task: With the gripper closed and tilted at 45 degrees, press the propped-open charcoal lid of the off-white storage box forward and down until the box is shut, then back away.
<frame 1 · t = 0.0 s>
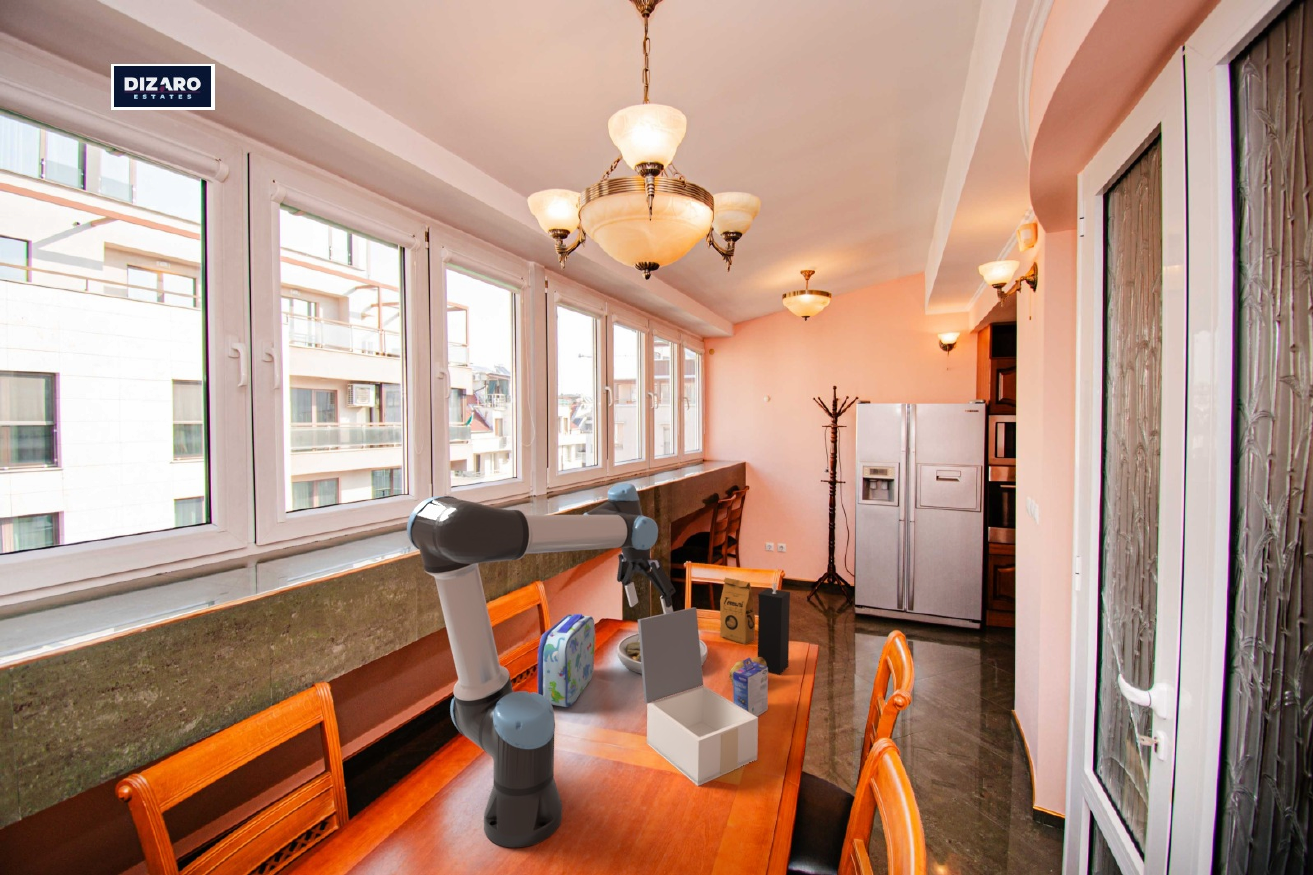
hand: (651, 610, 157), 28 cm above the table, tool tilted 20°, fingers open, 13 cm apart
ink cartridge box: (750, 713, 158), on the table
lunch box: (567, 692, 169), on the table
box lid: (671, 653, 148), point 20 cm above the table, hinge at 100.0°
bowl: (662, 662, 192), on the table
bread roll: (744, 685, 175), on the table
coffee package: (737, 639, 212), on the table
storage box: (700, 751, 139), on the table
black pillar candle: (772, 669, 187), on the table
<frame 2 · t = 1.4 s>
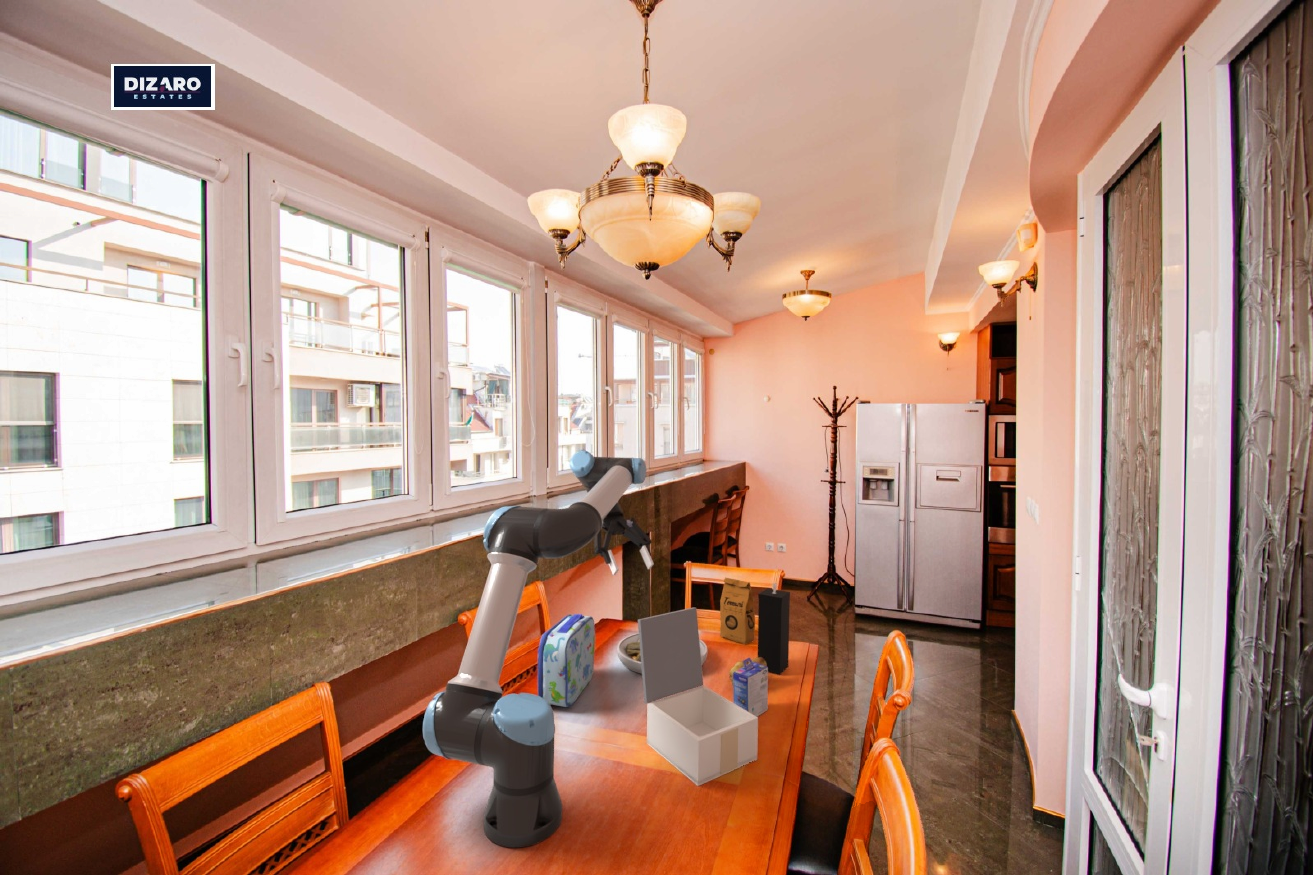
hand: (633, 569, 163), 37 cm above the table, tool tilted 45°, fingers open, 11 cm apart
nothing on the table moved.
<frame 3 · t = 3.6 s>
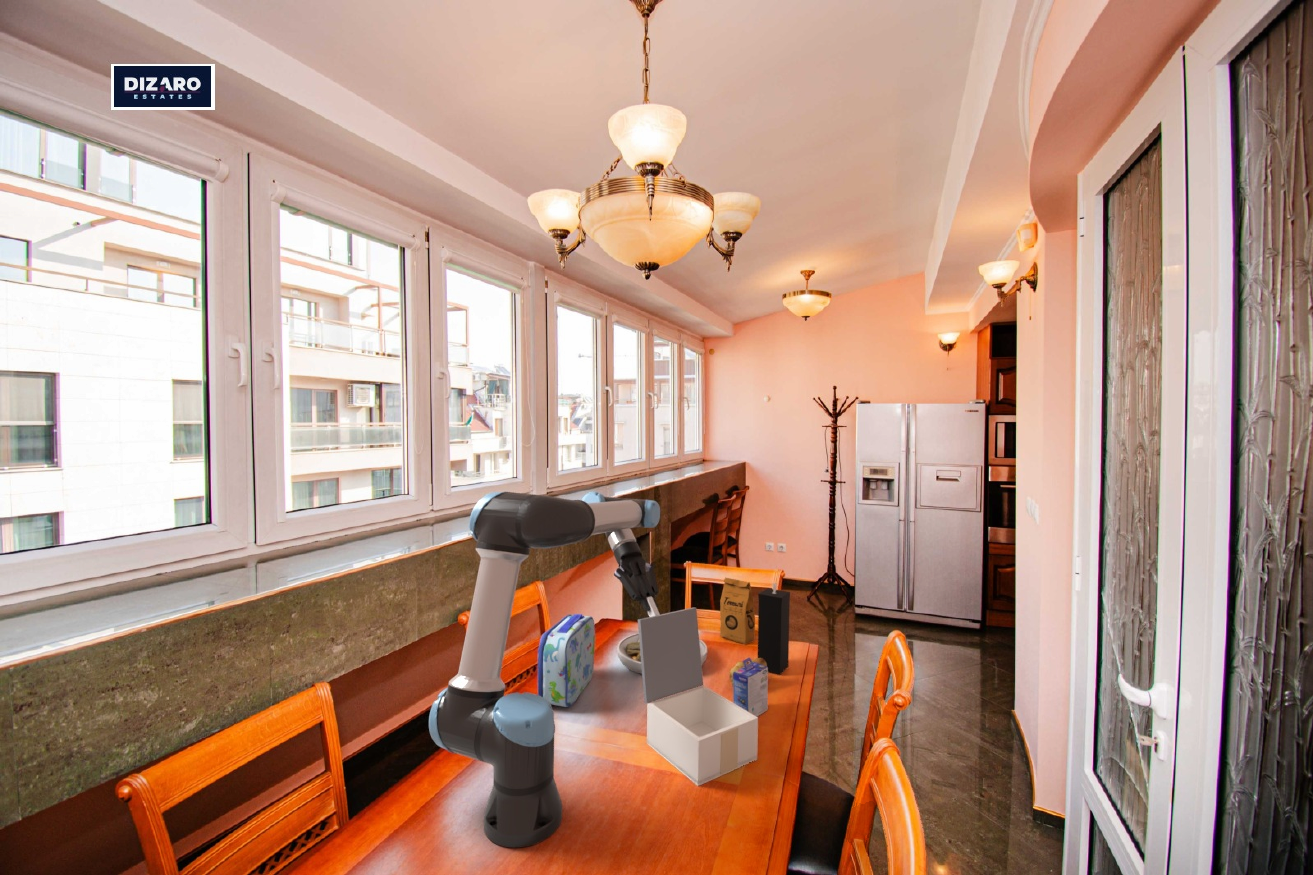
hand: (656, 620, 154), 26 cm above the table, tool tilted 45°, fingers closed
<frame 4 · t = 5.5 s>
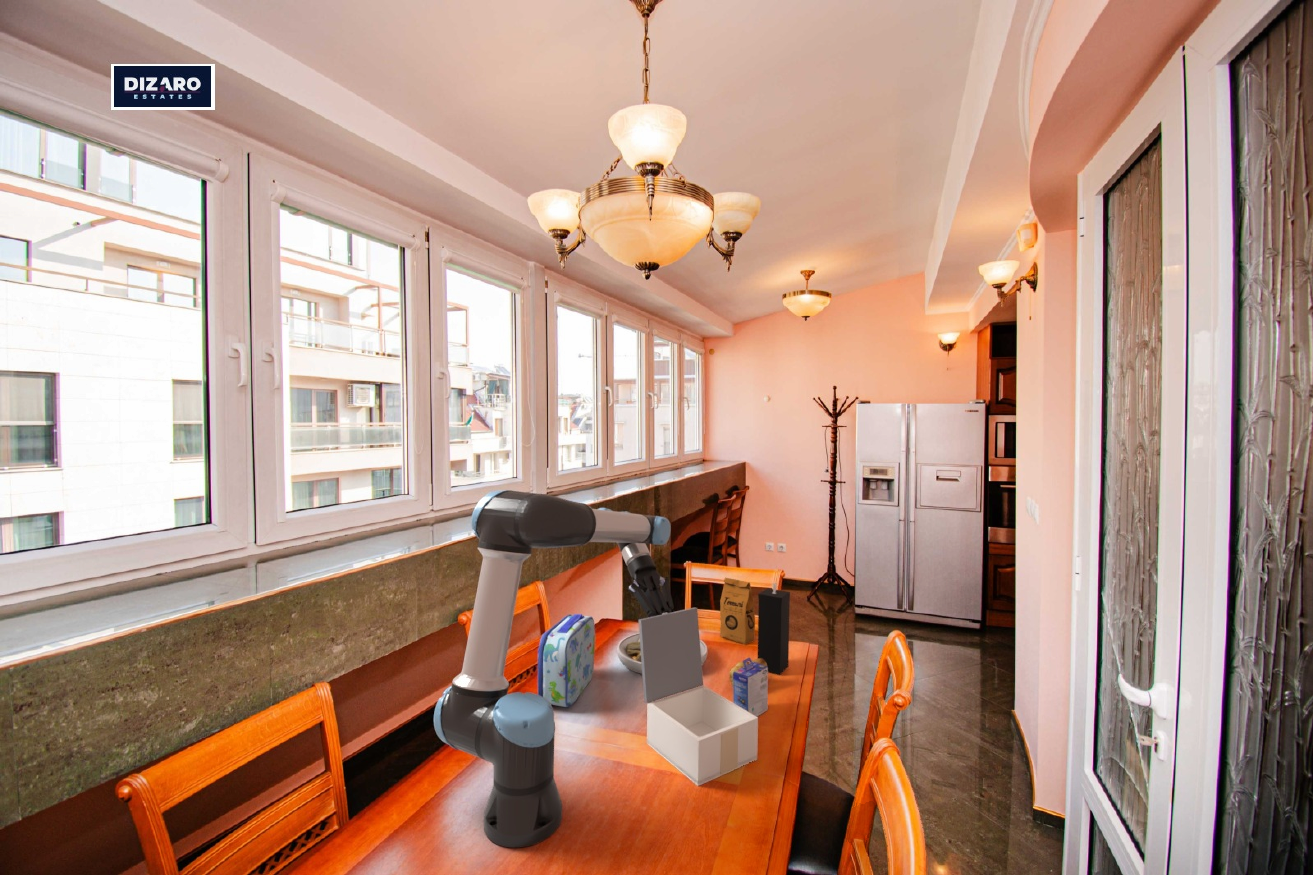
hand: (672, 637, 151), 23 cm above the table, tool tilted 45°, fingers closed
box lid: (671, 653, 148), point 20 cm above the table, hinge at 98.9°, touching gripper
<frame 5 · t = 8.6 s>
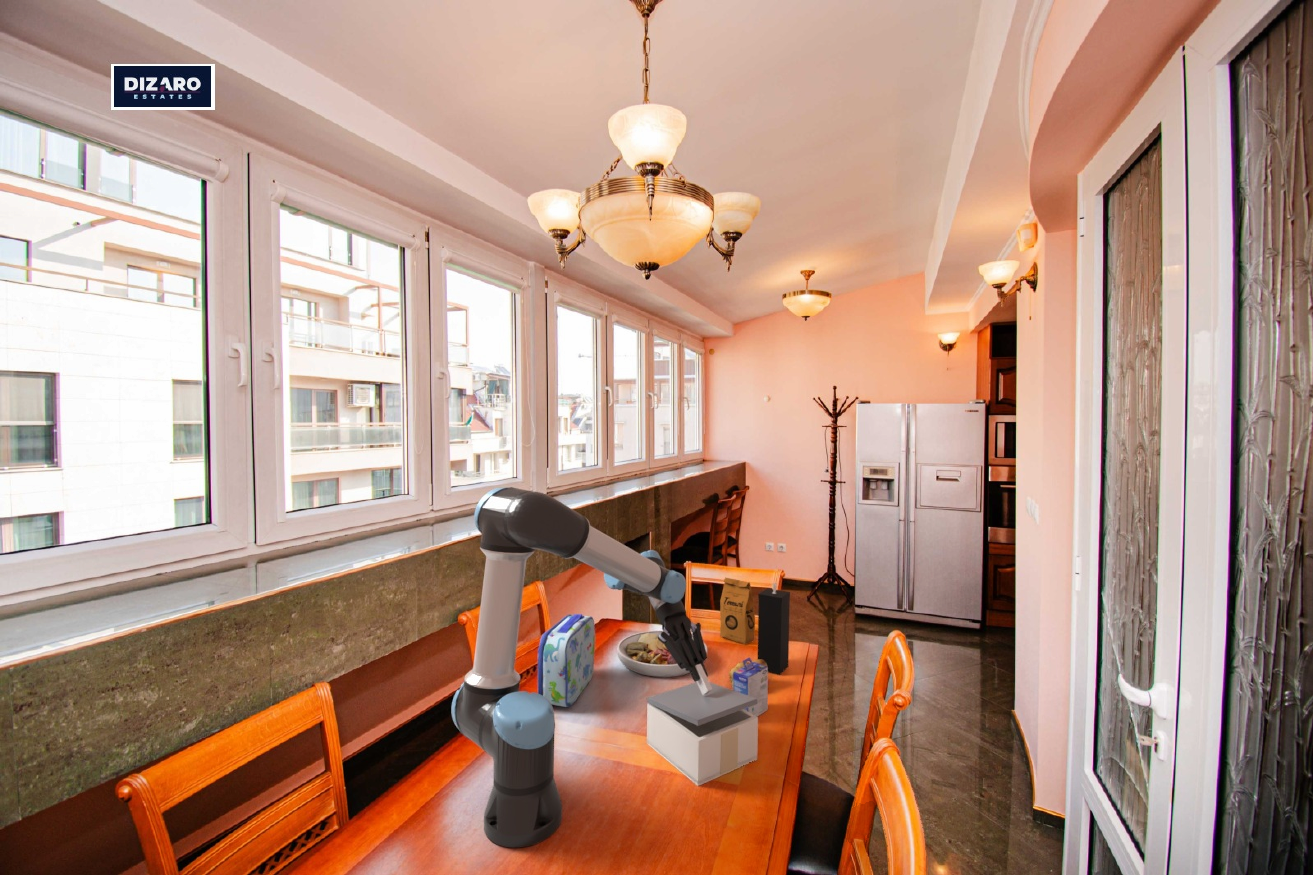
hand: (707, 692, 139), 14 cm above the table, tool tilted 45°, fingers closed
box lid: (700, 700, 139), point 12 cm above the table, hinge at 8.6°
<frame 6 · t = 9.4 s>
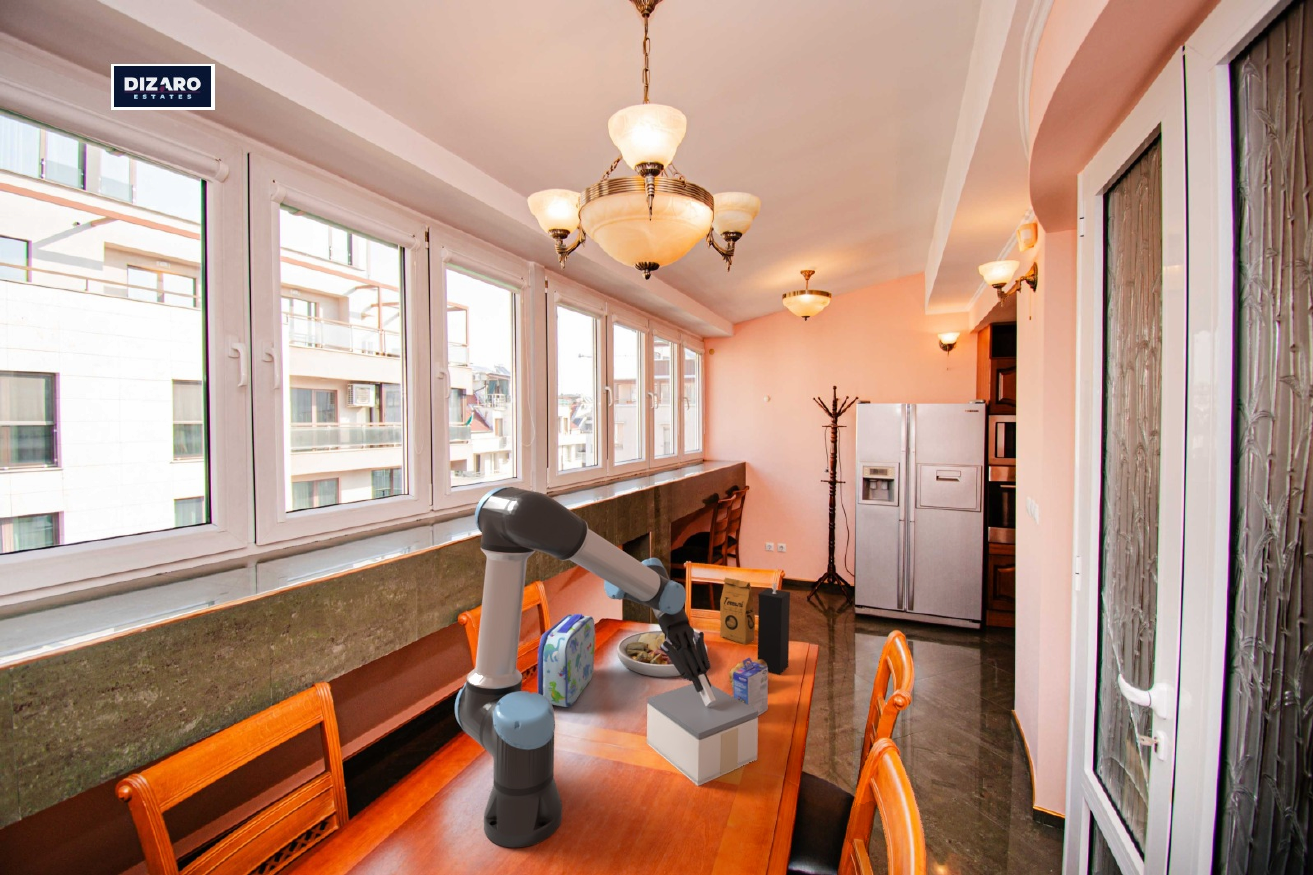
hand: (710, 703, 136), 13 cm above the table, tool tilted 45°, fingers closed
box lid: (701, 706, 138), point 11 cm above the table, hinge at 0.6°, touching gripper
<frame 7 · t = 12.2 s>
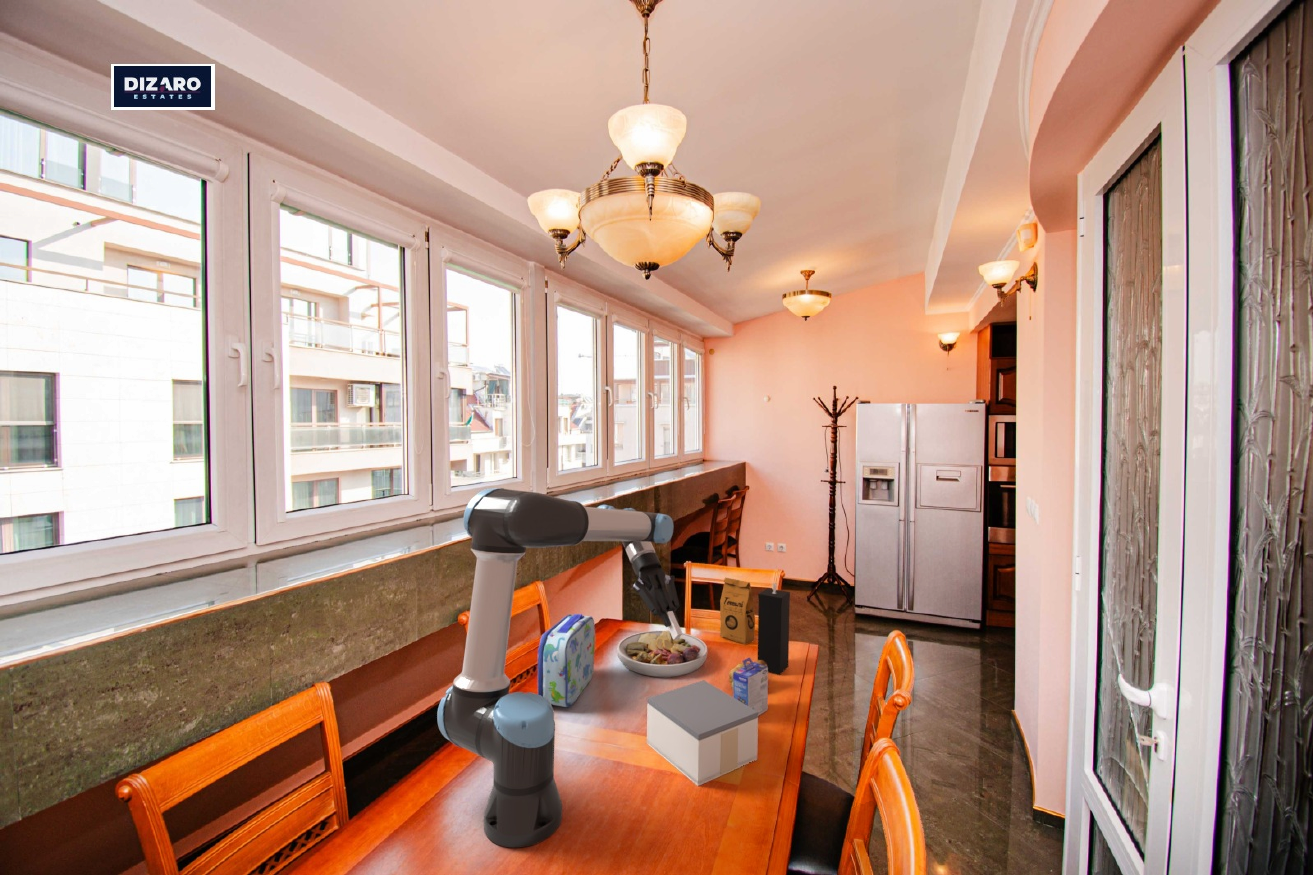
hand: (677, 636, 147), 25 cm above the table, tool tilted 45°, fingers closed
box lid: (701, 707, 138), point 11 cm above the table, hinge at -0.1°
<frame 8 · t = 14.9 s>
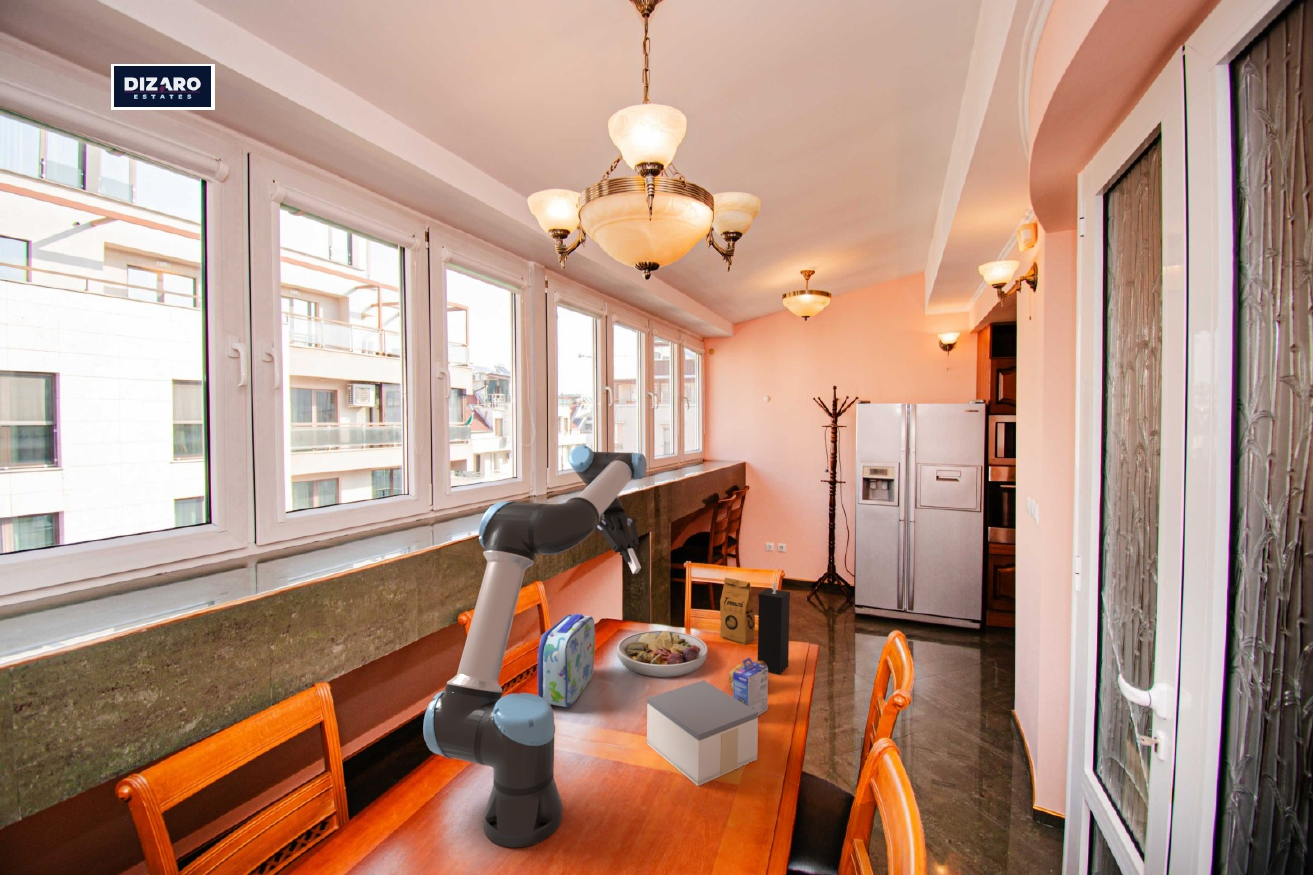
hand: (637, 570, 160), 38 cm above the table, tool tilted 45°, fingers closed
at the end: box lid at +0° (first picture: +100°) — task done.
